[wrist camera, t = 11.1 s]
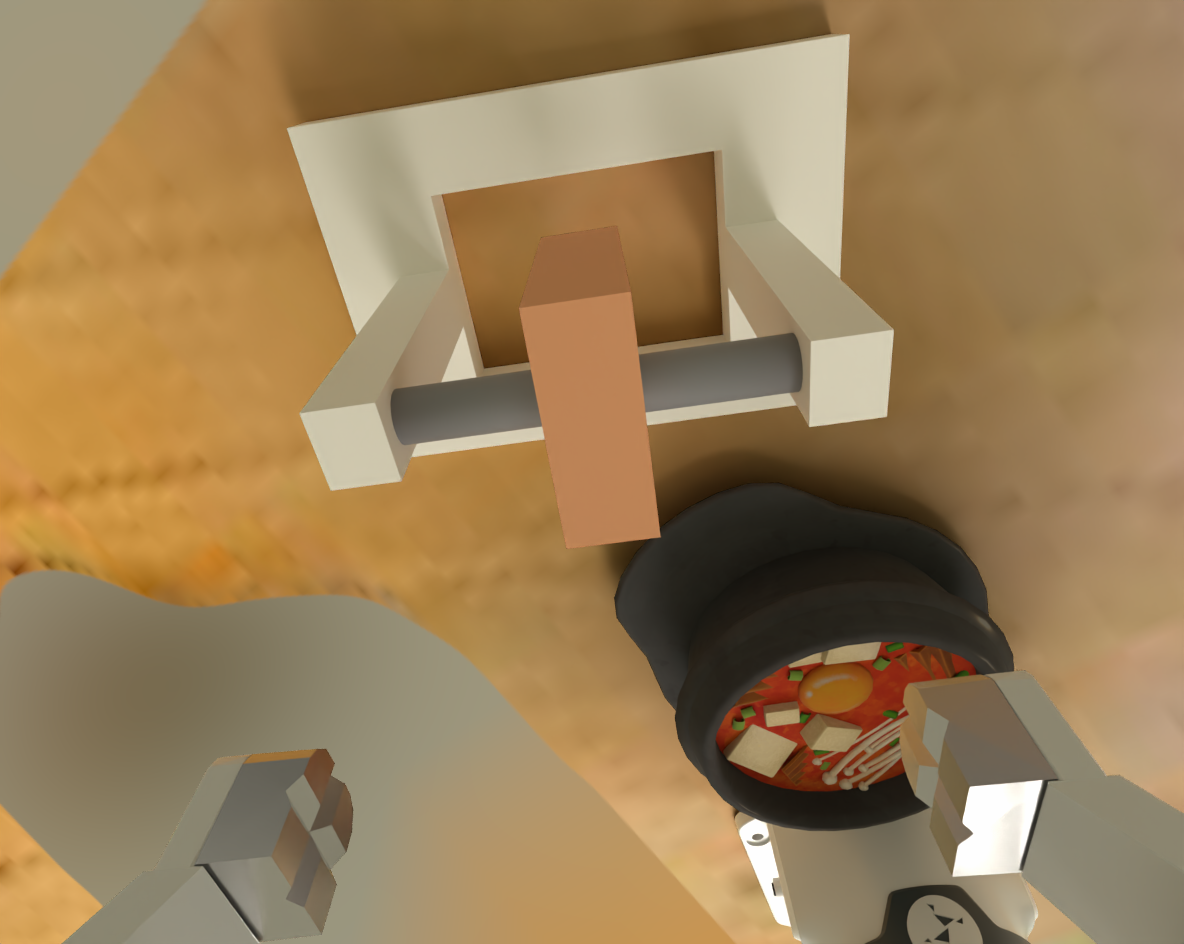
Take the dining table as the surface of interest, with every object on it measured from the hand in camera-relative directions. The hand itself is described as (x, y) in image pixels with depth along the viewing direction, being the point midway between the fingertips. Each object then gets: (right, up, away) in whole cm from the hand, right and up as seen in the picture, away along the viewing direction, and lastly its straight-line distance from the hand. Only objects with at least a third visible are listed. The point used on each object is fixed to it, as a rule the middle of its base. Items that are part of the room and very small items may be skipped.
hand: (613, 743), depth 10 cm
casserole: (+12, -5, +32) cm, 34 cm away
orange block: (0, +9, +15) cm, 17 cm away
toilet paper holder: (0, +13, +20) cm, 24 cm away
